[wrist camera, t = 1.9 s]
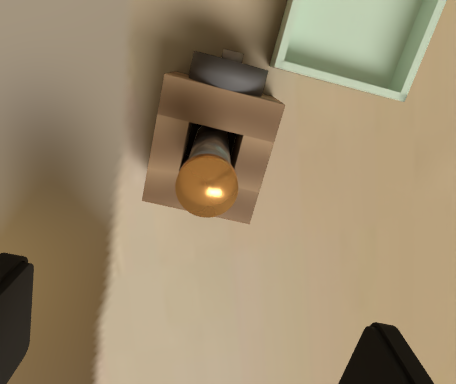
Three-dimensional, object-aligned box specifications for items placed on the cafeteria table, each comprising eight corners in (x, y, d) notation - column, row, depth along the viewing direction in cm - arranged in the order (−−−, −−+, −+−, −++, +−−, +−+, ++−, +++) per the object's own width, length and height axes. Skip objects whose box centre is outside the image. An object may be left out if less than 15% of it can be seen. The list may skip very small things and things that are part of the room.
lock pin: (197, 114, 32) (182, 151, 19) (235, 124, 32) (245, 166, 19) (189, 152, 33) (169, 210, 20) (226, 161, 33) (229, 223, 21)
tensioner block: (180, 38, 29) (171, 33, 24) (282, 65, 30) (296, 67, 25) (154, 177, 34) (141, 200, 28) (244, 197, 35) (249, 224, 29)
